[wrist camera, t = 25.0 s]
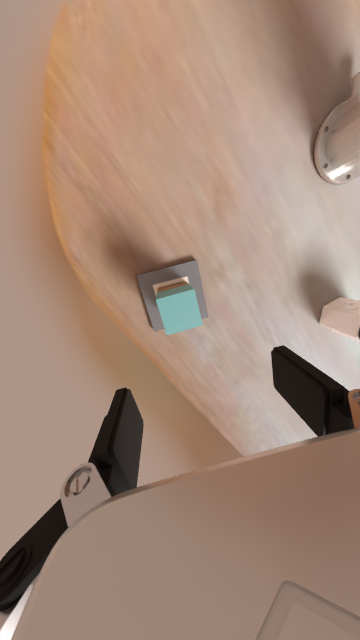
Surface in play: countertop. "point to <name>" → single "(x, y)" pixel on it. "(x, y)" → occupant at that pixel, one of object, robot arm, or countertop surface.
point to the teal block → (179, 309)
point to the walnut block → (171, 286)
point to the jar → (342, 317)
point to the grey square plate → (166, 277)
